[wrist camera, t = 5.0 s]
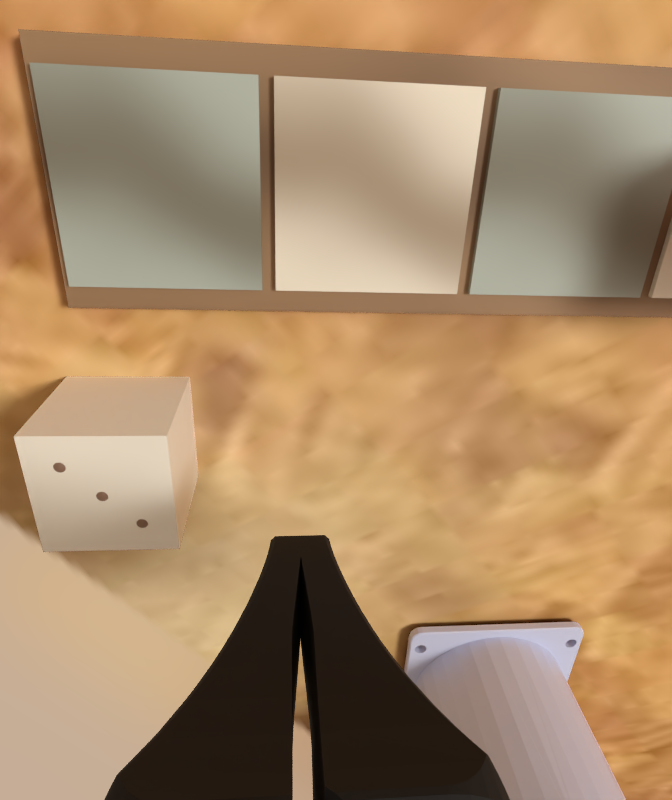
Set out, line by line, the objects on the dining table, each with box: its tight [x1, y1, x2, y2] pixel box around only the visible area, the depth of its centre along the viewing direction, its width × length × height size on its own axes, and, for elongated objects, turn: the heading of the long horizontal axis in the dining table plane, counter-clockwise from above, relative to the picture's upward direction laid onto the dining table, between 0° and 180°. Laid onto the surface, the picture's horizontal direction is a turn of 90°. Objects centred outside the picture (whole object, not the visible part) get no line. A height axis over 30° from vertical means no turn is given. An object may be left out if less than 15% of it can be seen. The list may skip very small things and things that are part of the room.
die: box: [14, 376, 198, 552], centre depth 17 cm, size 4×4×4 cm
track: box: [18, 29, 672, 317], centre depth 16 cm, size 7×24×1 cm, turn 88°
